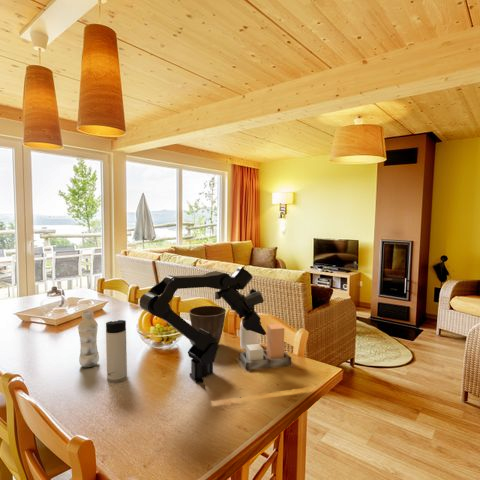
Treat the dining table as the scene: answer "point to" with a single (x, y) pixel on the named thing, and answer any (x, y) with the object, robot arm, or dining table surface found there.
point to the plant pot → (208, 319)
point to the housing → (263, 362)
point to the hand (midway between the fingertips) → (262, 329)
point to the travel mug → (116, 351)
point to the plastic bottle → (88, 340)
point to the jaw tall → (275, 341)
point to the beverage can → (248, 337)
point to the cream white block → (254, 352)
